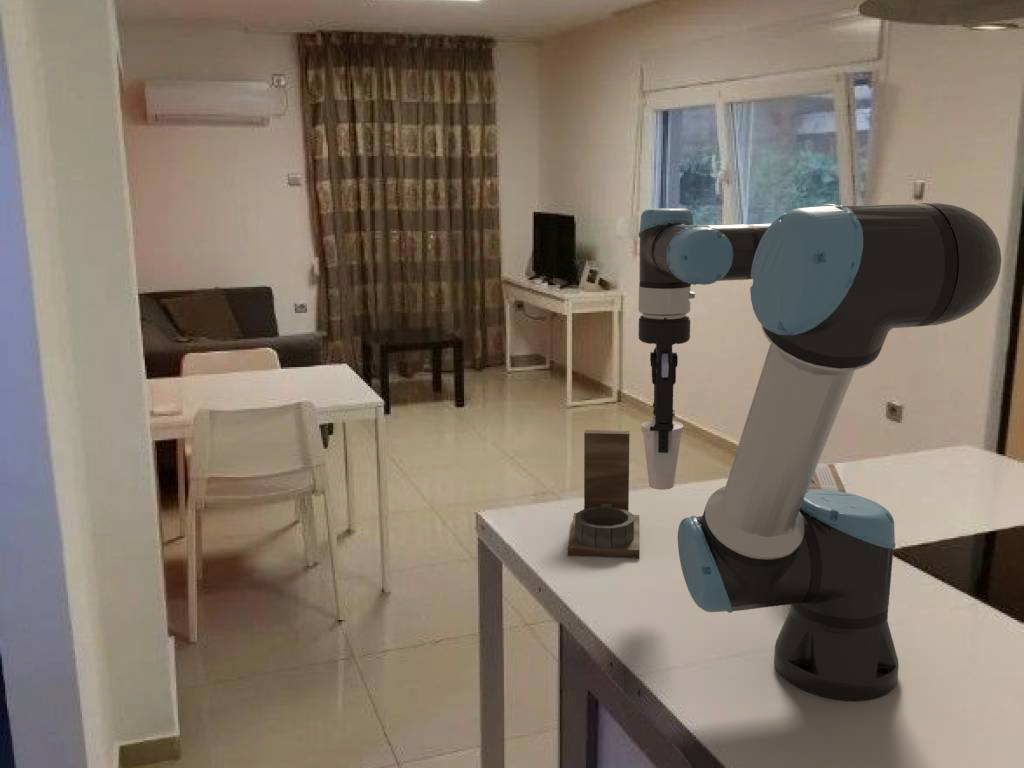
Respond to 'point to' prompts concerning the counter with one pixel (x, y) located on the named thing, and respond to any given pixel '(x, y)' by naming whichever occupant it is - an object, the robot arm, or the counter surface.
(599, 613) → the counter surface
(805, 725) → the counter surface
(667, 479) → the smoothie
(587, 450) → the cup bracket
